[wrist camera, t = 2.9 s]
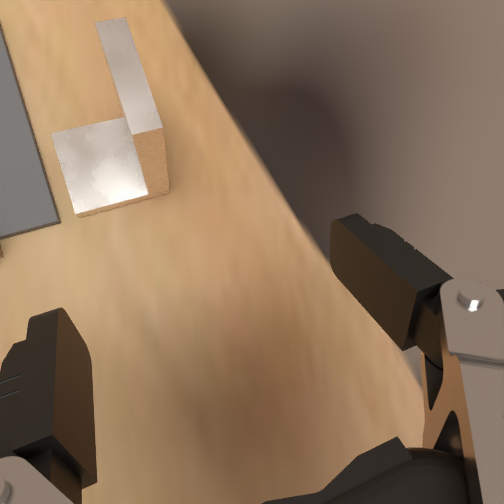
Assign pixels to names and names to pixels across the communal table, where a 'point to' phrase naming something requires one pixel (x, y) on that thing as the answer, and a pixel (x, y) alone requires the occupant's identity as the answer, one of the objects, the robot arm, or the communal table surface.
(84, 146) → the aluminium bracket
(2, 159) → the corner mat
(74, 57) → the communal table surface
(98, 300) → the communal table surface
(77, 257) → the communal table surface
